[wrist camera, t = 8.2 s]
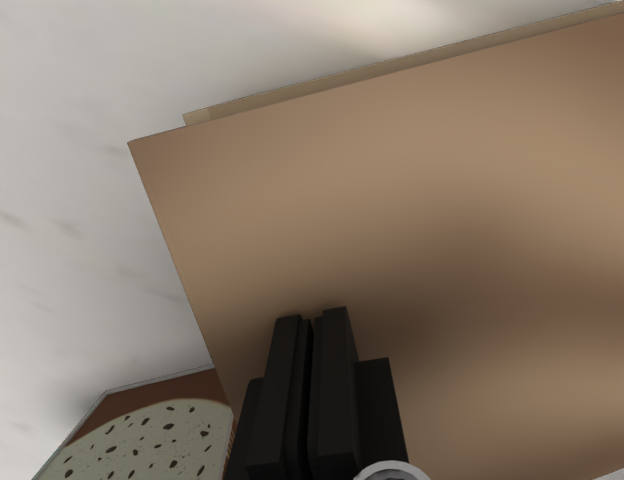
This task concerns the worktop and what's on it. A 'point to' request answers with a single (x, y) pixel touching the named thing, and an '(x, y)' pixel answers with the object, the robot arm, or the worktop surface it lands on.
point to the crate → (399, 64)
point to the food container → (151, 432)
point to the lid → (428, 244)
